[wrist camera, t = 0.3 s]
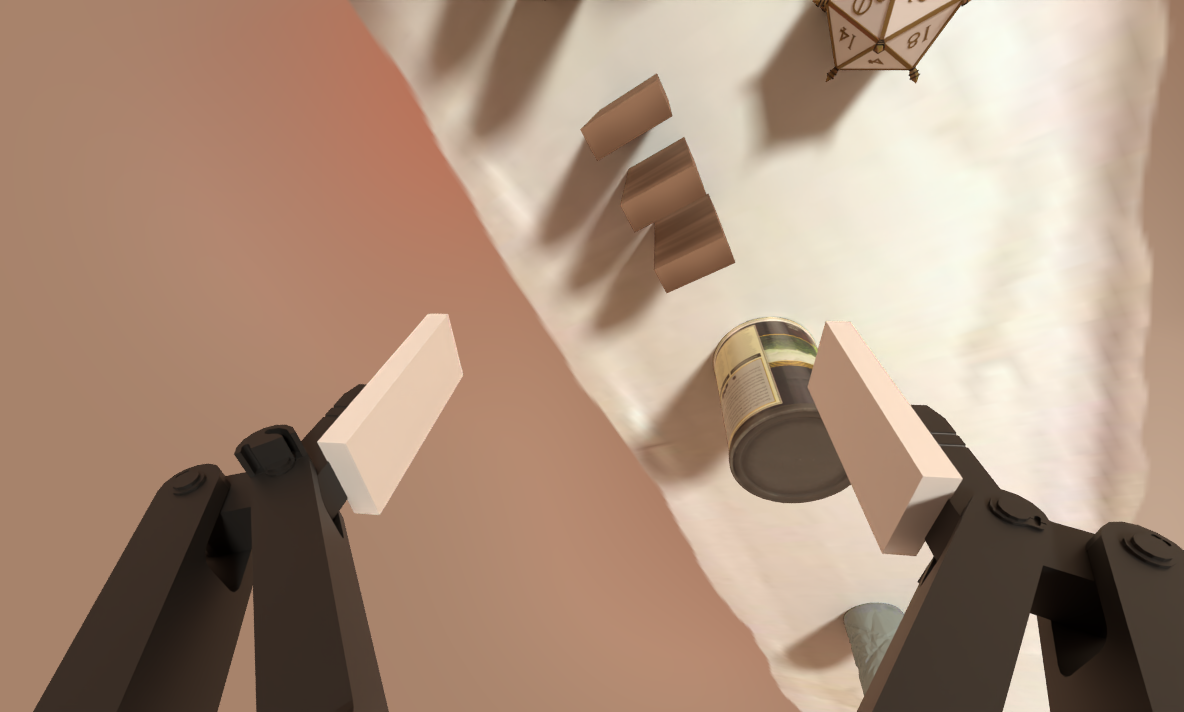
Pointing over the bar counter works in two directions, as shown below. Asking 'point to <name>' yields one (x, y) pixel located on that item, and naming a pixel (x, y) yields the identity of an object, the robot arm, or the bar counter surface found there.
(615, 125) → the domino
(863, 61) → the game die
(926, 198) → the bar counter surface
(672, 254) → the domino
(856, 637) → the grey green cup
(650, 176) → the domino
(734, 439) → the coffee can
